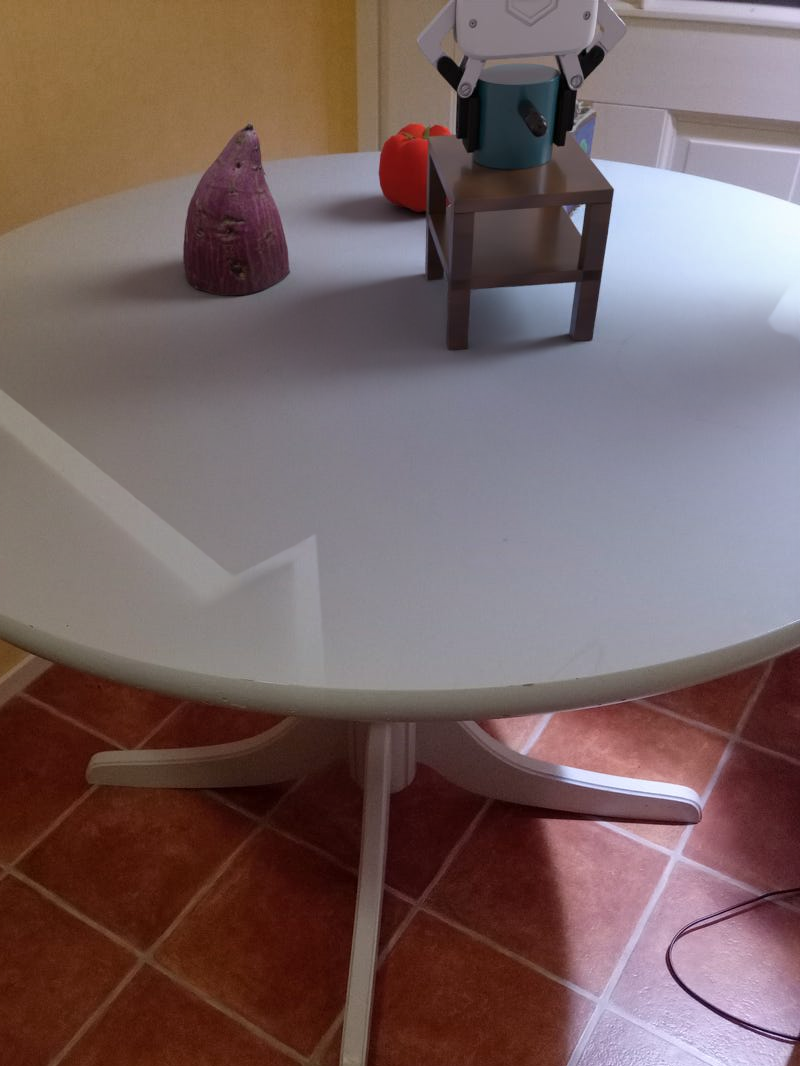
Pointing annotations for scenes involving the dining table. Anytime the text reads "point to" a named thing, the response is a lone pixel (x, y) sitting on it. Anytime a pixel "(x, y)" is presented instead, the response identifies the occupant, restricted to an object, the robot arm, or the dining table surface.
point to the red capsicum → (407, 166)
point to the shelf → (514, 229)
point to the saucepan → (516, 115)
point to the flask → (582, 135)
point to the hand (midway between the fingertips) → (512, 142)
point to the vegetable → (235, 224)
